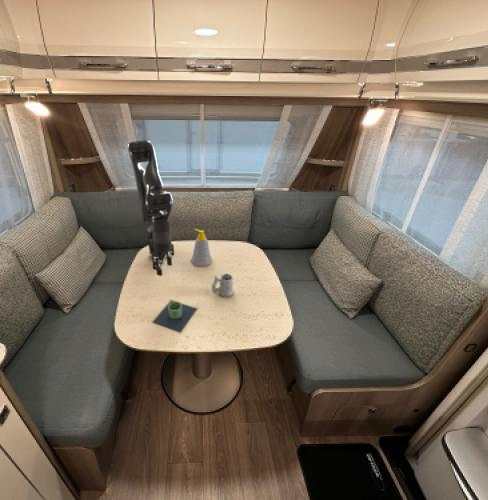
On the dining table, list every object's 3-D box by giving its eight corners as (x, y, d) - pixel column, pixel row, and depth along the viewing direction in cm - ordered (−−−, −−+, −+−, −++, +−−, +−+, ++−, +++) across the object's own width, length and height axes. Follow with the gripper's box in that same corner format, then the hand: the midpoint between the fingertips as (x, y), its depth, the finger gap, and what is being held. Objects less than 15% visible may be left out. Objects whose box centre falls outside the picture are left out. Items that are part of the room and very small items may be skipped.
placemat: (171, 300, 132) (171, 300, 132) (196, 308, 127) (196, 308, 127) (152, 322, 120) (152, 321, 120) (180, 332, 115) (180, 331, 115)
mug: (235, 295, 136) (237, 276, 130) (214, 300, 133) (214, 281, 127) (229, 286, 143) (230, 268, 137) (208, 291, 139) (209, 272, 133)
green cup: (173, 308, 127) (172, 300, 124) (184, 312, 125) (184, 303, 122) (166, 317, 122) (165, 308, 119) (178, 321, 120) (177, 312, 117)
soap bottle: (199, 253, 172) (199, 224, 162) (215, 259, 166) (216, 230, 156) (187, 261, 163) (186, 232, 153) (203, 268, 157) (203, 238, 147)
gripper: (163, 230, 119) (165, 260, 127) (144, 244, 108) (148, 276, 116) (178, 233, 116) (179, 263, 125) (160, 248, 105) (163, 281, 114)
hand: (164, 270), depth 120 cm, fingers open, 8 cm apart
